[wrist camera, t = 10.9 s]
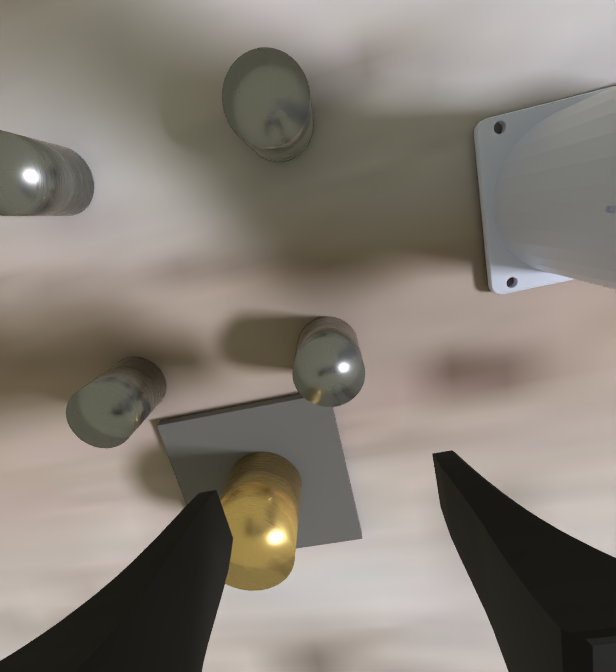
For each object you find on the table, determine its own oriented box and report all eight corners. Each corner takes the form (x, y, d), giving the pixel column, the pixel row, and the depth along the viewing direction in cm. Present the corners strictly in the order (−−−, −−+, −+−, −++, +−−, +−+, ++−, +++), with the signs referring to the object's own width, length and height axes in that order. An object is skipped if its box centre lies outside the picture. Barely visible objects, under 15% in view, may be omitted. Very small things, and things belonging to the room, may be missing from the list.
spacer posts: (304, 75, 17) (298, 36, 14) (362, 366, 21) (370, 399, 17) (18, 154, 19) (-60, 139, 15) (122, 413, 23) (81, 453, 19)
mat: (328, 388, 22) (328, 393, 21) (361, 531, 25) (362, 538, 24) (161, 420, 23) (156, 425, 22) (210, 553, 26) (208, 561, 25)
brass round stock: (289, 445, 22) (277, 509, 17) (311, 506, 23) (305, 582, 19) (217, 460, 23) (187, 527, 18) (242, 520, 24) (220, 596, 19)
